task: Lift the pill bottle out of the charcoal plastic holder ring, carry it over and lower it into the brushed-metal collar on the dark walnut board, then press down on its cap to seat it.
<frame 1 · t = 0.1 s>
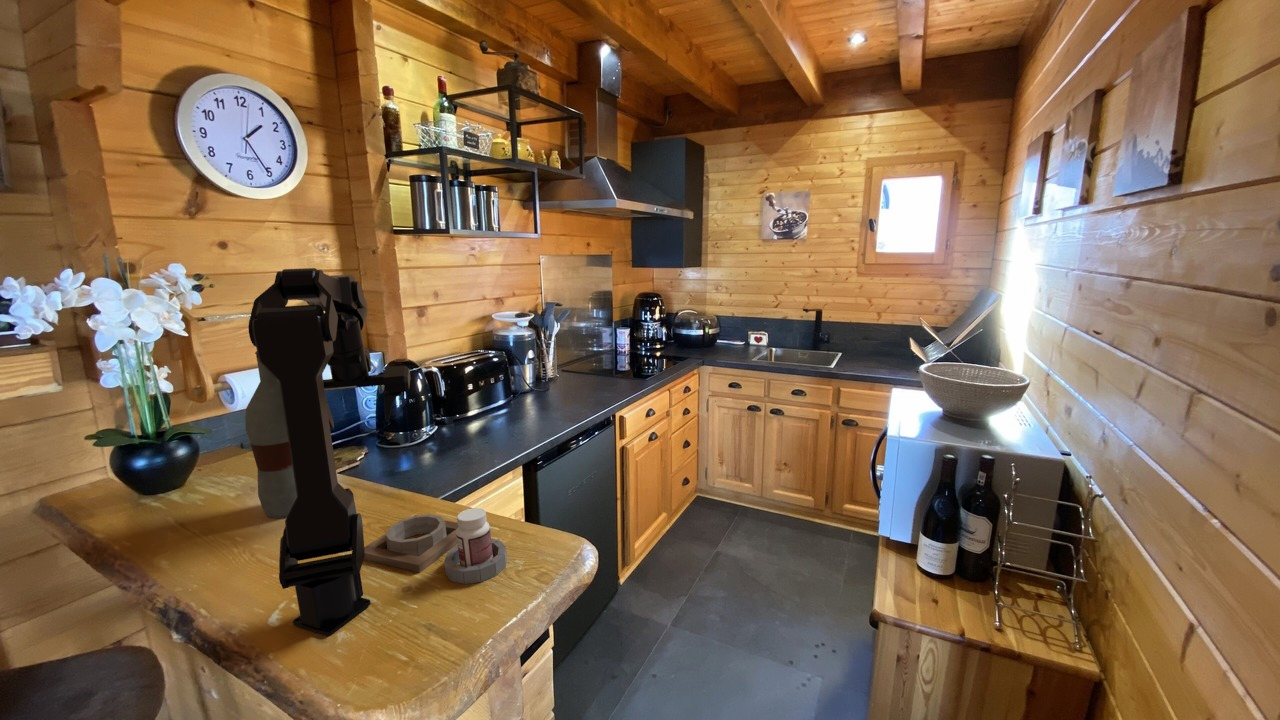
hand: (360, 424, 97), 15 cm above the countertop, tool pointing down, fingers open, 9 cm apart
socket board: (418, 544, 85), on the countertop
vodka: (291, 508, 99), on the countertop
holder: (476, 565, 78), on the countertop
pill bottle: (477, 567, 78), resting in holder
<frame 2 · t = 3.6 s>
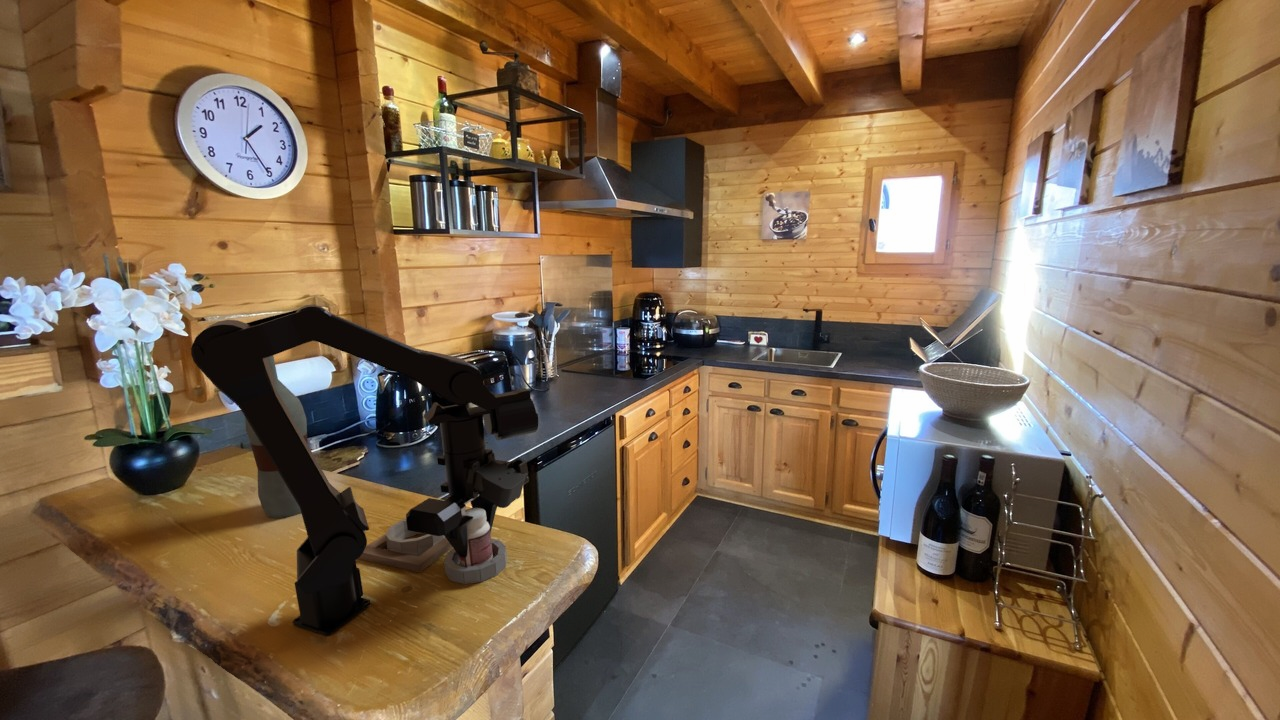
hand: (474, 547, 78), 3 cm above the countertop, tool pointing down, fingers closed on pill bottle, 5 cm apart
pill bottle: (477, 567, 78), resting in holder, touching gripper
everything else where it was.
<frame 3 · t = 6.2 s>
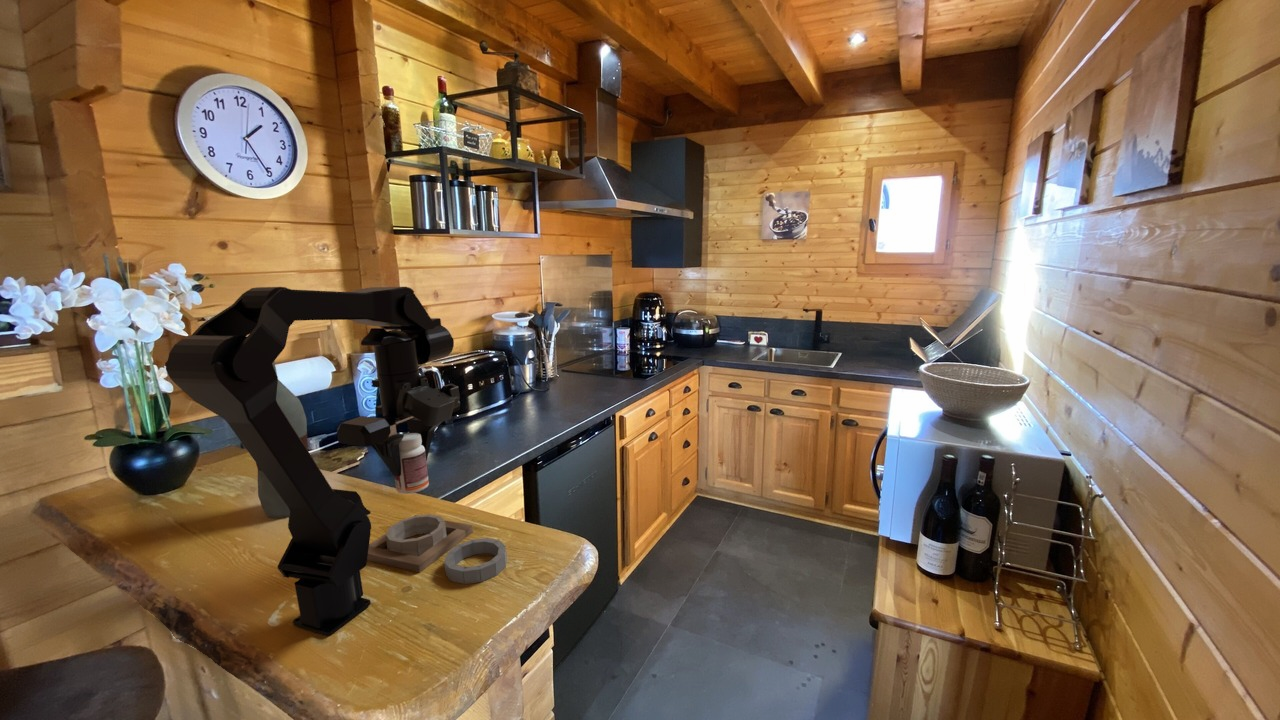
hand: (410, 469, 82), 13 cm above the countertop, tool pointing down, fingers closed on pill bottle, 5 cm apart
pill bottle: (412, 489, 82), point 10 cm above the countertop, touching gripper
everything else where it was.
when the fingers open (4 cm above the countertop, at t = 8.7 s): pill bottle stays where it is, resting in socket board.
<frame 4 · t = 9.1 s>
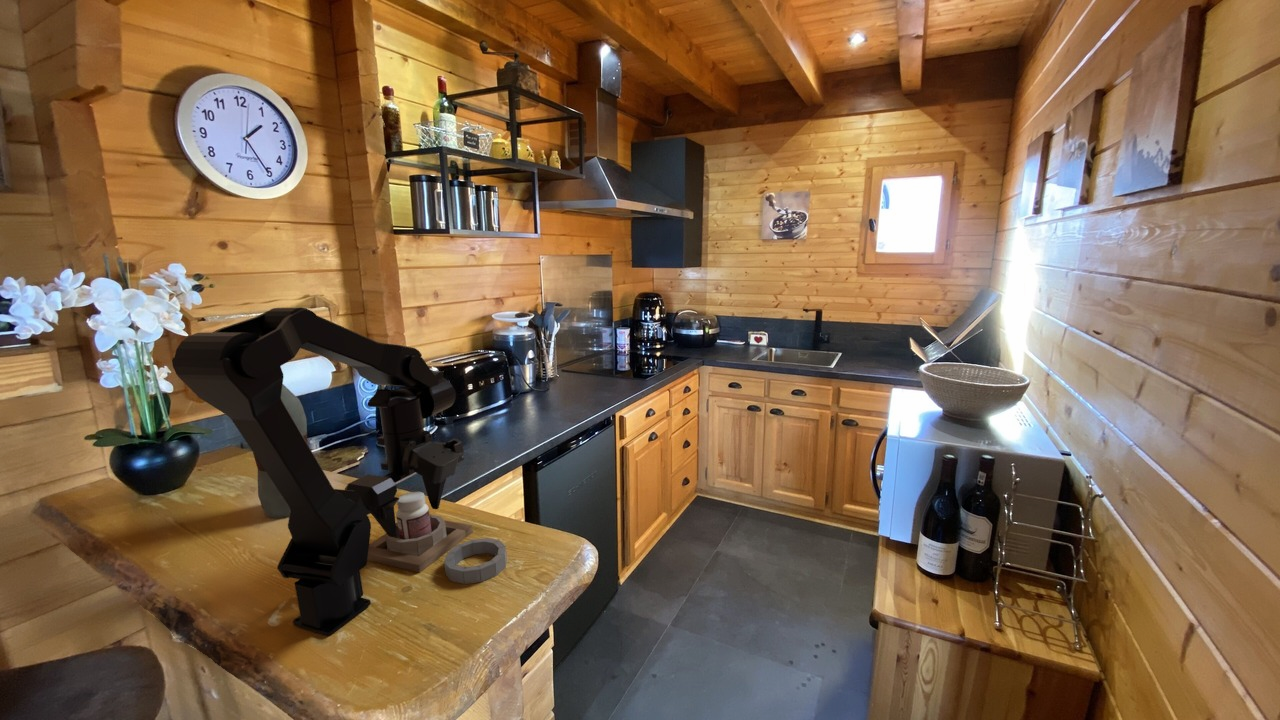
hand: (414, 521, 84), 4 cm above the countertop, tool pointing down, fingers open, 9 cm apart
pill bottle: (417, 546, 84), resting in socket board
everything else where it was.
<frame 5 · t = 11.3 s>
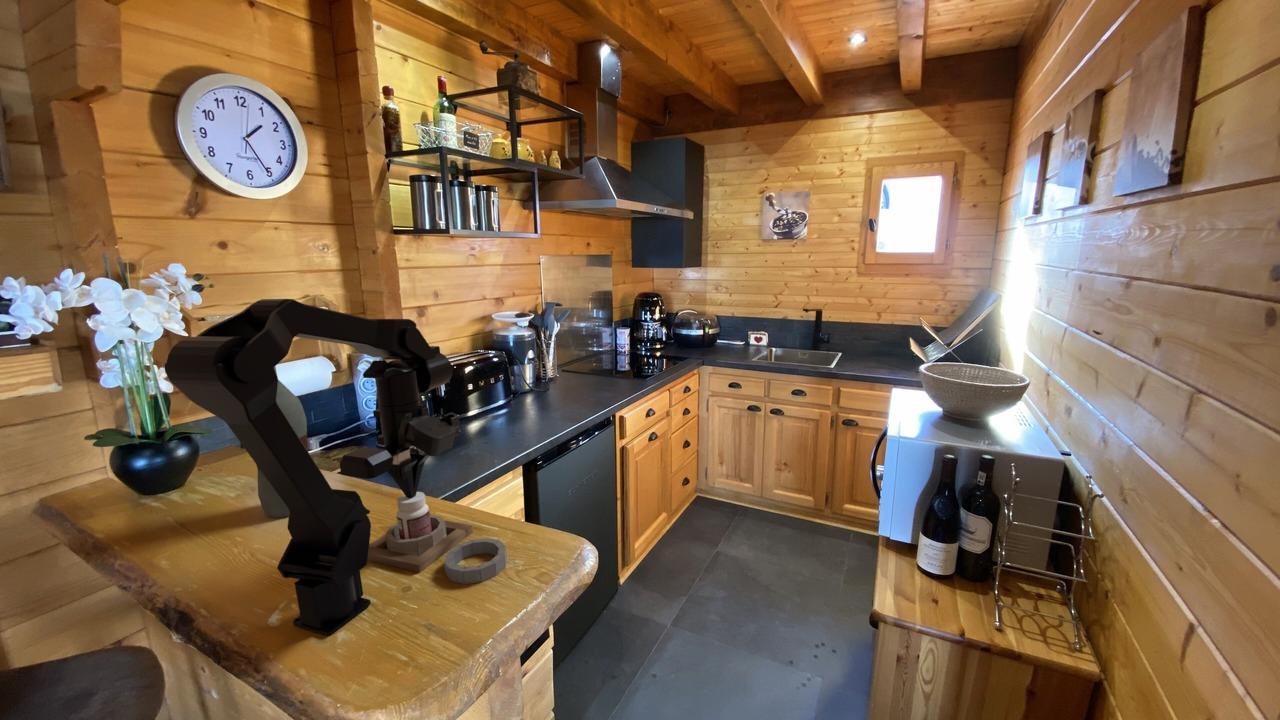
hand: (411, 497, 83), 8 cm above the countertop, tool pointing down, fingers closed, pressing on pill bottle
pill bottle: (417, 546, 84), resting in socket board, touching gripper
everything else where it was.
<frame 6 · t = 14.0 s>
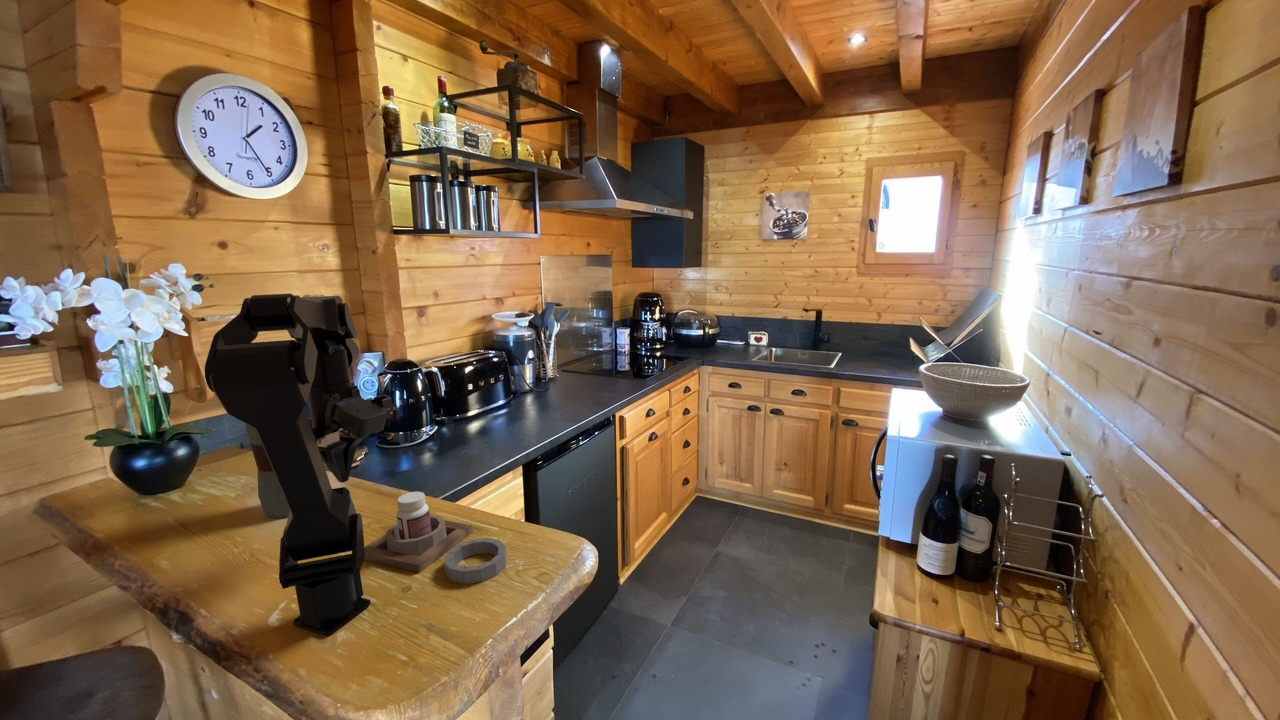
hand: (343, 481, 80), 12 cm above the countertop, tool pointing down, fingers closed
pill bottle: (417, 546, 84), resting in socket board
everything else where it was.
at the end: pill bottle 0.2 cm off-centre on the socket board, point 0.0 cm above the socket board's base; pill bottle tilted 0°; the gripper is holding nothing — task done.
